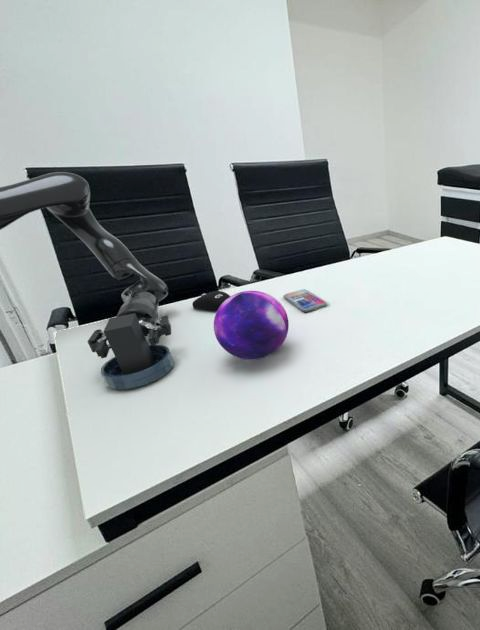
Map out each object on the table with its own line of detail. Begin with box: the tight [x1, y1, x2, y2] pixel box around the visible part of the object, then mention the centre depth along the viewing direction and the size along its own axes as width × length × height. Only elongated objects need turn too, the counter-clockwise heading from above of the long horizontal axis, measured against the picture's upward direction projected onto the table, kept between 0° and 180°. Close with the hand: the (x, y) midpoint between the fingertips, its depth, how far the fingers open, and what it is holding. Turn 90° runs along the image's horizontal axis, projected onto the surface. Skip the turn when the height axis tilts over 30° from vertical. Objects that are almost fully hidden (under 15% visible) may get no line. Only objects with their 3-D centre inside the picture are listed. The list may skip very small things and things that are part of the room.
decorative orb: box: [213, 290, 290, 360], centre depth 84 cm, size 15×15×15 cm
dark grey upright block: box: [102, 313, 155, 375], centre depth 80 cm, size 4×6×12 cm
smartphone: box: [283, 288, 328, 313], centre depth 113 cm, size 7×1×15 cm
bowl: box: [100, 344, 175, 390], centre depth 82 cm, size 12×12×4 cm
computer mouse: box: [191, 290, 232, 312], centre depth 112 cm, size 8×12×4 cm, turn 70°
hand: (127, 348), depth 78 cm, fingers open, 8 cm apart
